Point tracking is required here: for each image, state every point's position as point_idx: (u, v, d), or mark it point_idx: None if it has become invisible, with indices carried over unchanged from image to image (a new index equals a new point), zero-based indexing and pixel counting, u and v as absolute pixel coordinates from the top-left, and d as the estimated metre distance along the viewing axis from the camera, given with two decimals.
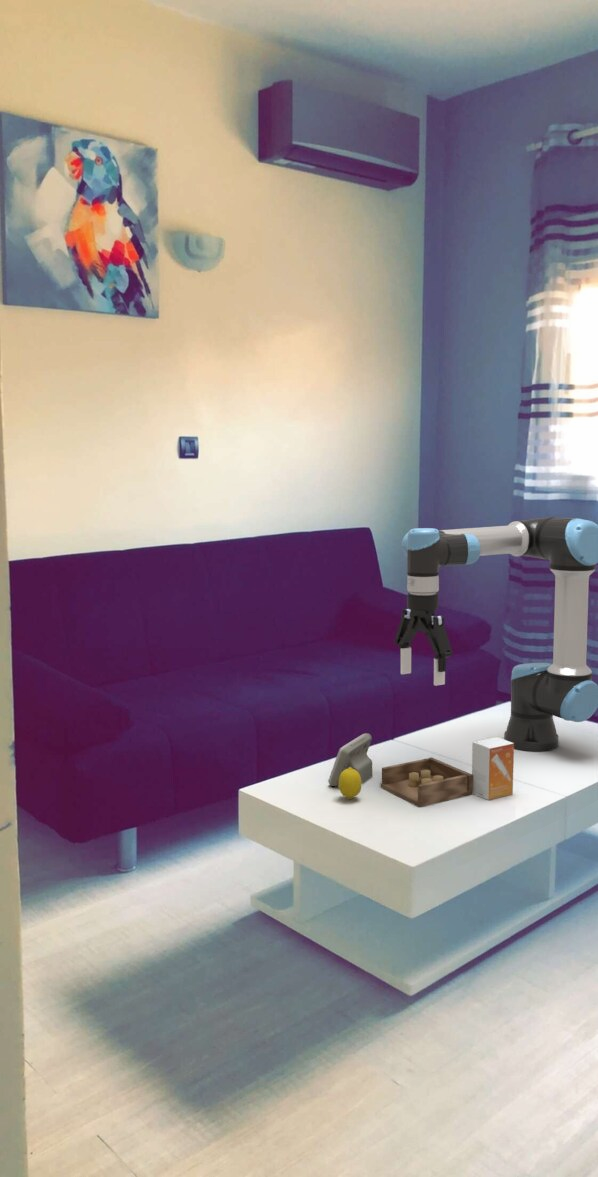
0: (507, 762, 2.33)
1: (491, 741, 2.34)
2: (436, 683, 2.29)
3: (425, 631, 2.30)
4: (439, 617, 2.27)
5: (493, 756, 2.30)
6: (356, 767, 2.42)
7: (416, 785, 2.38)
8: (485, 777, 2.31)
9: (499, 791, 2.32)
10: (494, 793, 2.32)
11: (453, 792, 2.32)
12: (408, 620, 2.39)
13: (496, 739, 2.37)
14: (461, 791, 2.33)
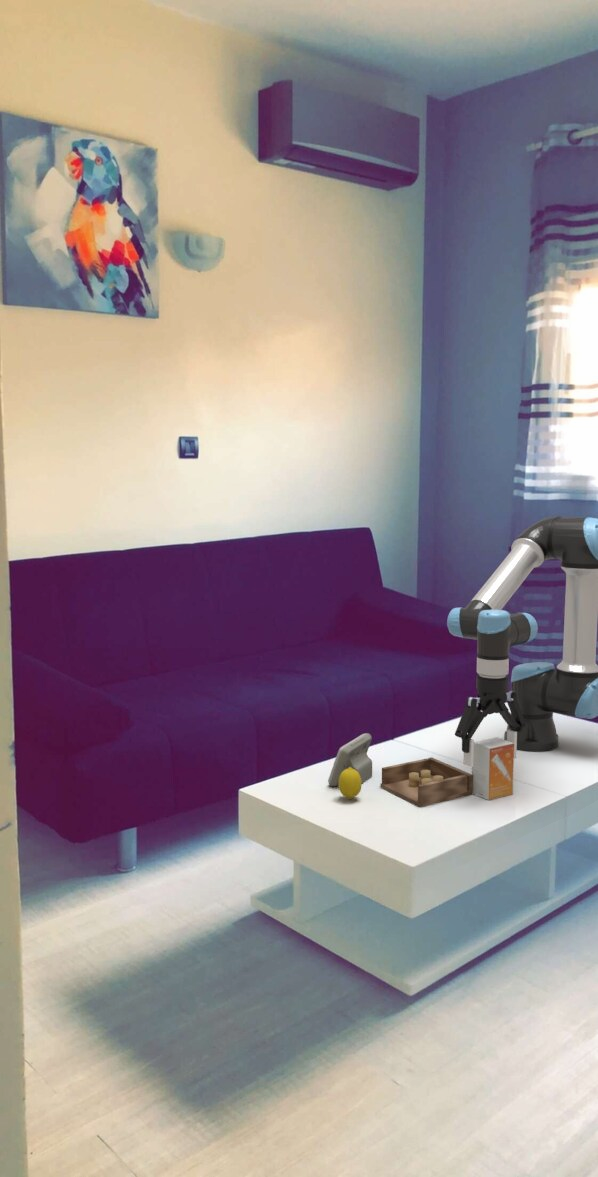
0: (507, 762, 2.33)
1: (491, 741, 2.34)
2: (464, 762, 2.31)
3: None
4: (470, 698, 2.29)
5: (493, 756, 2.30)
6: (356, 767, 2.42)
7: (416, 785, 2.38)
8: (486, 777, 2.31)
9: (499, 791, 2.32)
10: (494, 793, 2.32)
11: (453, 792, 2.32)
12: (511, 703, 2.35)
13: (496, 739, 2.37)
14: (461, 791, 2.33)
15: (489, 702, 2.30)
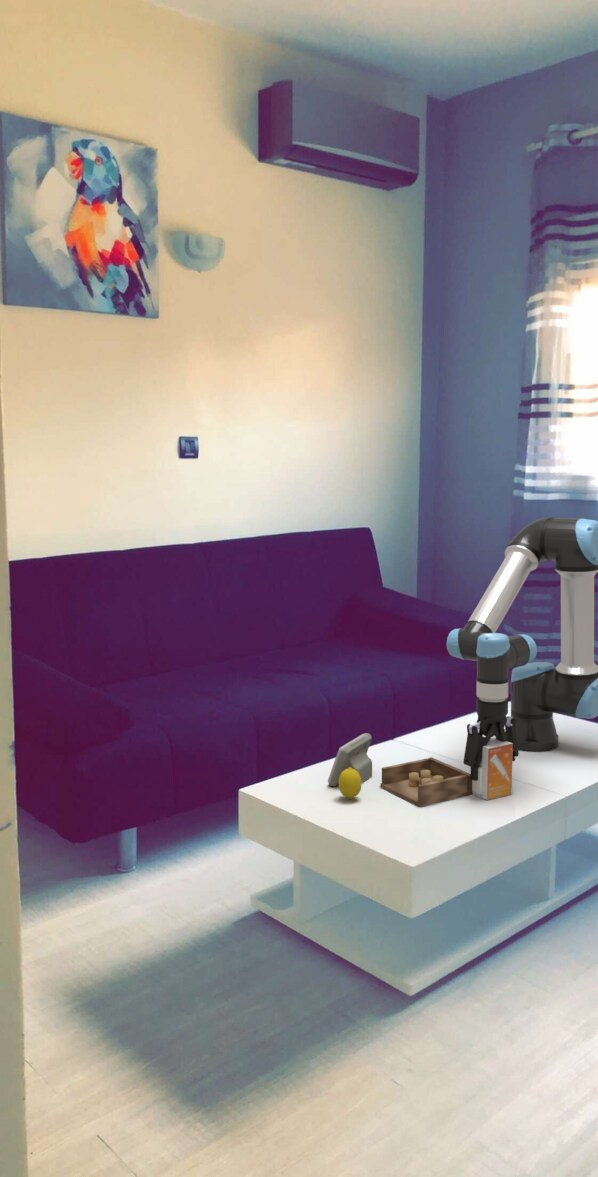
0: (506, 762, 2.33)
1: (490, 742, 2.34)
2: (472, 789, 2.34)
3: None
4: (470, 727, 2.30)
5: (492, 756, 2.30)
6: (356, 767, 2.42)
7: (416, 785, 2.38)
8: (484, 777, 2.31)
9: (497, 791, 2.32)
10: (493, 794, 2.32)
11: (453, 792, 2.32)
12: (509, 728, 2.36)
13: (495, 739, 2.36)
14: (461, 791, 2.33)
15: (489, 726, 2.31)
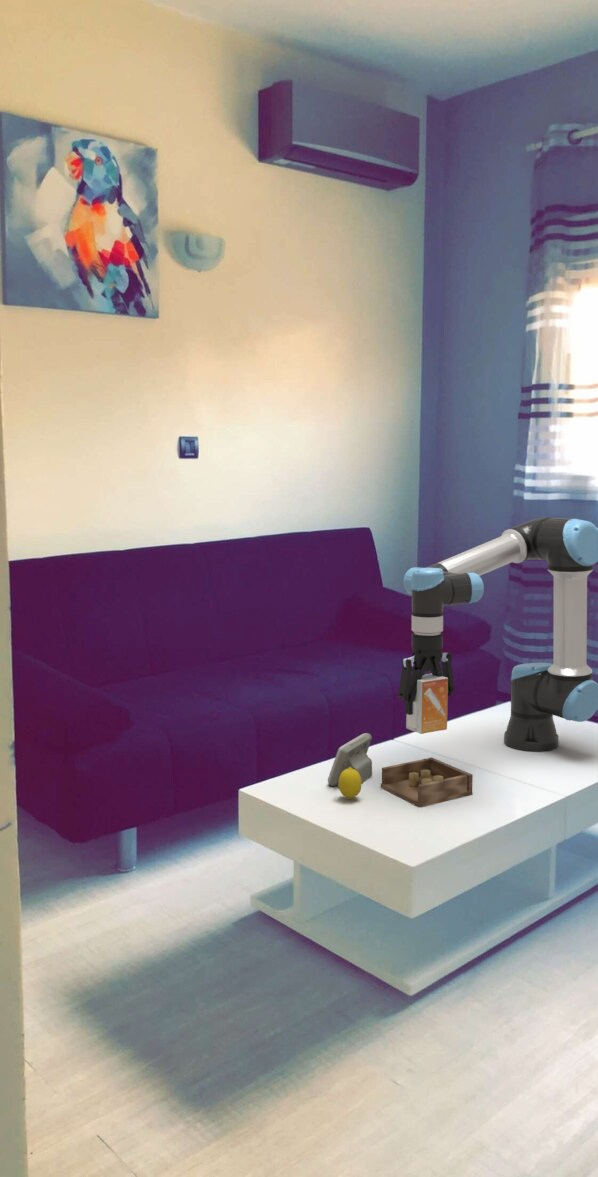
0: (441, 697, 2.33)
1: (425, 676, 2.34)
2: (408, 724, 2.34)
3: None
4: (404, 660, 2.30)
5: (426, 689, 2.30)
6: (355, 767, 2.42)
7: (416, 785, 2.38)
8: (419, 711, 2.31)
9: (432, 725, 2.33)
10: (428, 728, 2.32)
11: (453, 792, 2.32)
12: (444, 664, 2.36)
13: (431, 674, 2.37)
14: (461, 791, 2.33)
15: (424, 660, 2.31)
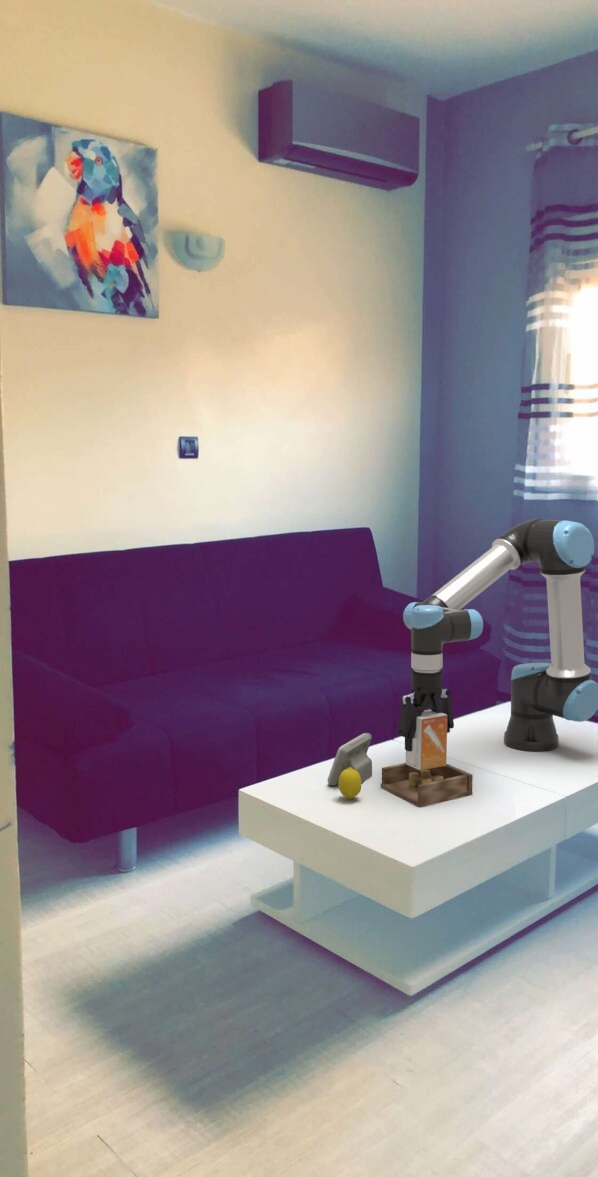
0: (440, 733, 2.34)
1: (425, 713, 2.36)
2: (407, 760, 2.36)
3: None
4: (404, 697, 2.31)
5: (425, 726, 2.32)
6: (355, 766, 2.42)
7: (416, 785, 2.38)
8: (418, 747, 2.33)
9: (431, 762, 2.34)
10: (427, 764, 2.33)
11: (453, 792, 2.32)
12: (444, 700, 2.38)
13: (430, 710, 2.38)
14: (461, 791, 2.33)
15: (423, 697, 2.33)
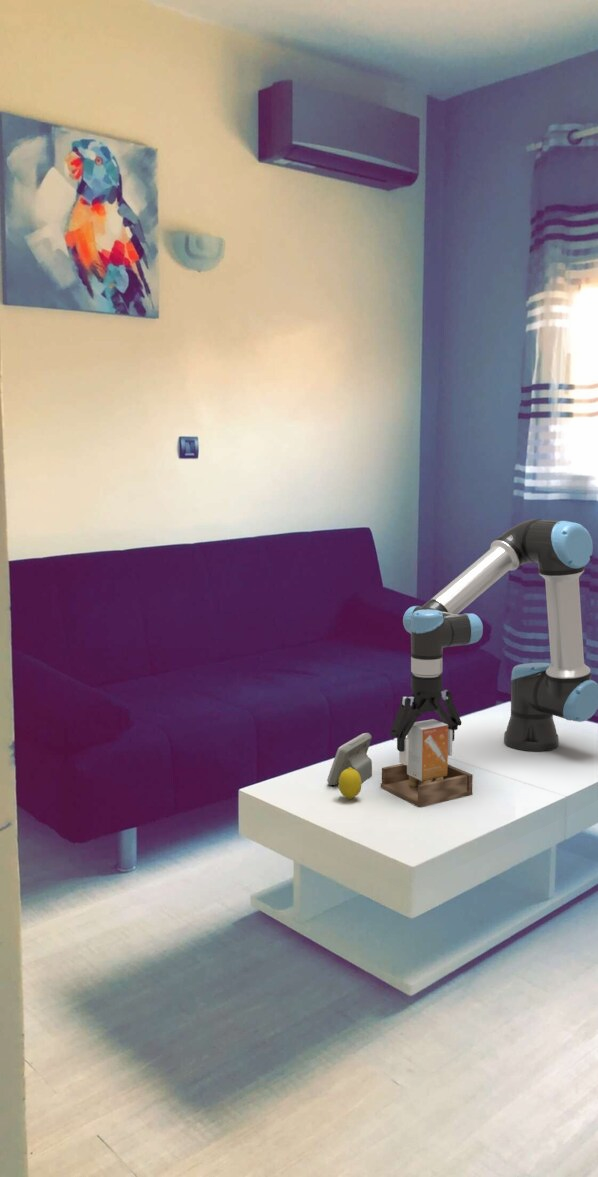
0: (441, 744, 2.35)
1: (426, 723, 2.36)
2: (400, 760, 2.34)
3: None
4: (404, 698, 2.31)
5: (426, 737, 2.32)
6: (355, 766, 2.42)
7: (416, 785, 2.38)
8: (419, 758, 2.33)
9: (433, 772, 2.34)
10: (428, 774, 2.34)
11: (453, 792, 2.32)
12: (446, 701, 2.38)
13: (431, 720, 2.39)
14: (461, 791, 2.33)
15: (423, 701, 2.33)
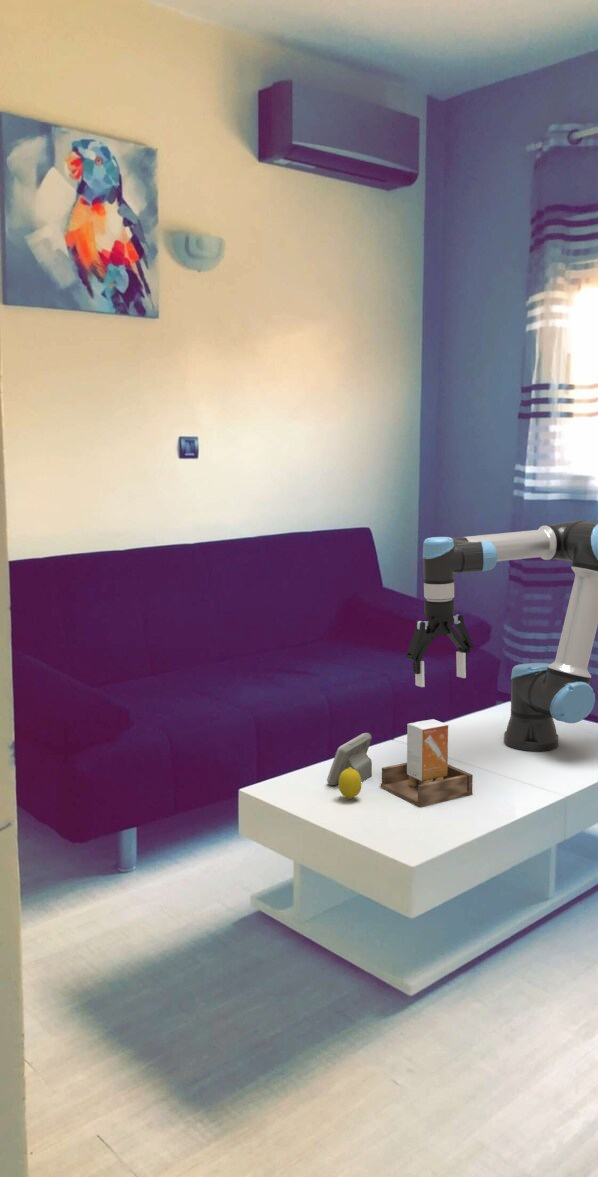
0: (441, 744, 2.35)
1: (426, 723, 2.36)
2: (416, 683, 2.43)
3: None
4: (418, 622, 2.40)
5: (426, 737, 2.32)
6: (355, 766, 2.42)
7: (416, 785, 2.38)
8: (419, 758, 2.33)
9: (433, 772, 2.34)
10: (428, 774, 2.34)
11: (453, 792, 2.32)
12: (458, 625, 2.47)
13: (431, 720, 2.39)
14: (461, 791, 2.33)
15: (437, 625, 2.41)
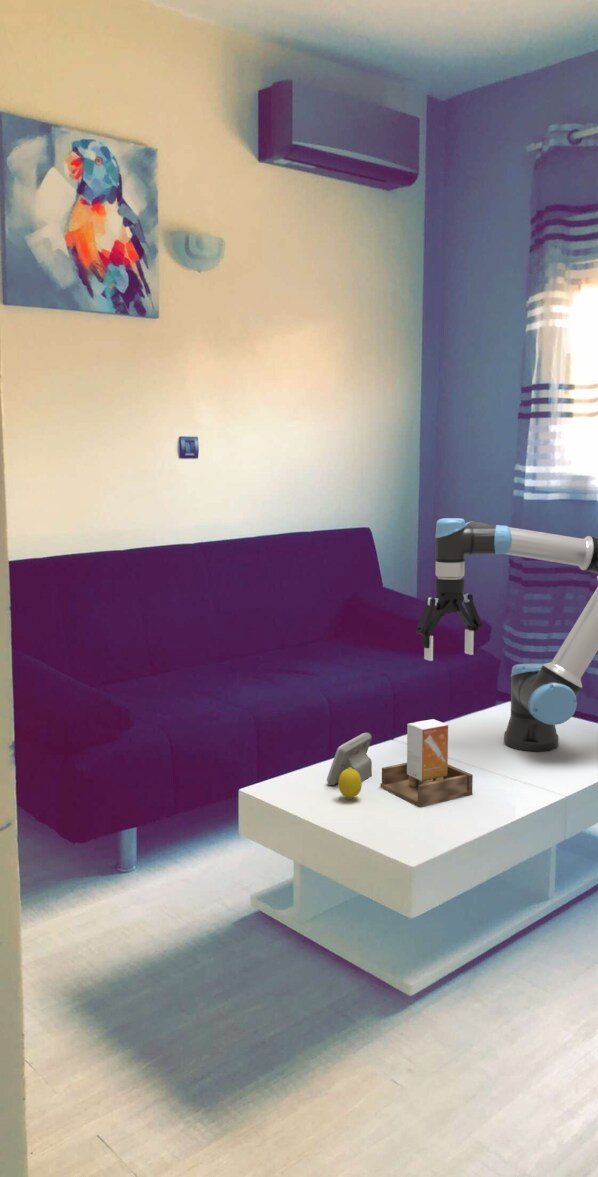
0: (441, 744, 2.35)
1: (426, 723, 2.36)
2: (424, 657, 2.54)
3: None
4: (429, 598, 2.51)
5: (426, 737, 2.32)
6: (354, 766, 2.43)
7: (416, 785, 2.38)
8: (419, 758, 2.33)
9: (433, 772, 2.34)
10: (428, 774, 2.34)
11: (453, 792, 2.32)
12: (467, 604, 2.57)
13: (431, 720, 2.39)
14: (461, 791, 2.33)
15: (447, 602, 2.52)
